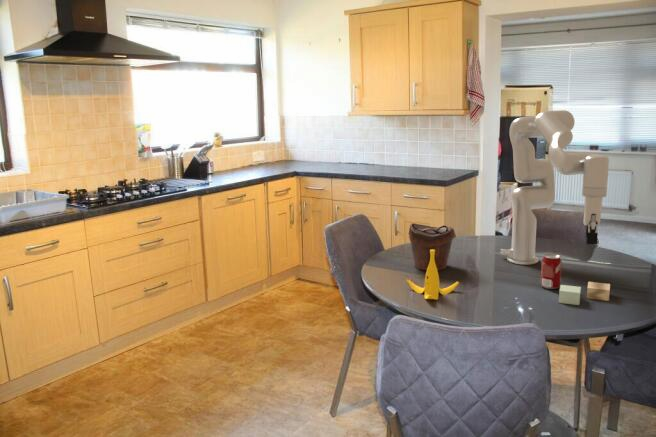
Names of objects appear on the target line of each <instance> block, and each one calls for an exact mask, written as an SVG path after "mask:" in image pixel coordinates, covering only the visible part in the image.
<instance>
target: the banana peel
mask: <svg viewBox="0 0 656 437" xmlns="http://www.w3.org/2000/svg"><path fill="white" fill-rule="evenodd" d="M434 254H435V250H430V263H429V266H428V268H427V270H426V273H425V274H424V284H423V285H424V286H423V287H421V286H418V285H416V284H415V283H414V282H412V281H411V280H410V279H406V282H407V283H408V286H410V288H411V289H412V290H413V291H414V292H415V293H417V294H423V293H424V295H423V296H424V299H425V300H438V299H439V295H440V294H441V295H442V296H444V295H445V296H446V295H449V294H451V292H453V290H455V289H456V287H457V286H458V285H459V284H460V282H459V281H456V282H455V283H453V284H451V285H450V286H447V287H445V288H441V287H440V276H439V272H438V271H439V270H437V267H436V264H435V260H434Z"/></svg>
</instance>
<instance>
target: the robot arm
mask: <svg viewBox="0 0 656 437" xmlns="http://www.w3.org/2000/svg"><path fill="white" fill-rule="evenodd" d="M574 127H575V117H574V115H573V114H572V113H571V112H570V111H569V110H564V109H563V110H545V111H541V112H540V113H538V114H537V115H532V116H531V115H529V116H528V115H527V116H520V117H518V118H517V117H516V118H515V119H514V120H513V121H512V122H511V123H510V127H509V132H508V134H509V138H510V143H511V146H512V155H513V156H512V157H513V158H512V159H513V160H512V161H513V174H514V176H513V177H514V179H515V181H516V182H518V183H520V184H531V183H537V185H527V186H526V185H525V186H520V187H516V188H515V189H514V190H513V191H512V192H511V195H510V201H511V207H512V210H511V211H512V223H511V224H512V229H511V248H507V249H505V248H504V249H503V248H500V254H502V255H504V256H507V257H506V259H507V260H506V261H508V262H509V263H512V264H516V265H521V266H522V265H524V266H525V265H526V266H527V265H529V266H530V265H536V264H537V263H538V262H539V257H537V256H536V241H537V240H536V238H537V225H538V223H537V217H536V215H535V214H534V212H533V210H540V209H546V208H551V207H552V206H553V205H554V203H555V199H556V189H555V188H556V187H555V170H556V171H557V172H558V173H560V174H561V175H564V176H574V175H582V176H583V178H582V194H581V195H582V197H584V207H583V225H584V226H586V230H585V231H586V232H585V237H586V245H597V244H598V227H599V226H600V224H601V215H602V207H603V198H606V197H607V194H608V193H607V192H608V177H609V164H610V159H609V157H608V156H607V155H603V154H596V153H594V152H590V151H589V152H586V151H585V152H571V153H567V152H566V151H564V149H566V148H567V147H568V146H569V145H570V144H571V143H572V141H573V137H574V135H573V132H572V130H573V129H574ZM530 138H544V140H545V141H546V142H547V143H548V144H549V147H548V159H546V158H536V149H535V147H534V146H535V145H534V144H533V143H532V141H531V140H530ZM554 168H555V169H554Z"/></svg>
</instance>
